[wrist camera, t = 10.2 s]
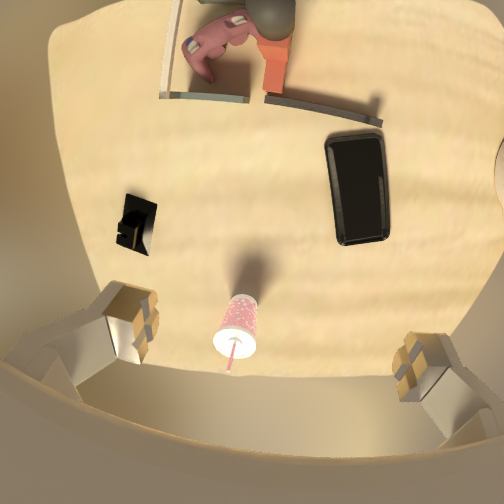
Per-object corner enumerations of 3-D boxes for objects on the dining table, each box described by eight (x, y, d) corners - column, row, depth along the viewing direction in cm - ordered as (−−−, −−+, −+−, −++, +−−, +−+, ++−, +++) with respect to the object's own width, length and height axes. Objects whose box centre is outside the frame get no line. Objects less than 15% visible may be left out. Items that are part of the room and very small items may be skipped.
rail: (376, 118, 32) (383, 120, 29) (374, 125, 33) (381, 127, 30) (266, 95, 33) (264, 94, 30) (265, 103, 33) (263, 103, 31)
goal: (264, 0, 26) (256, -27, 18) (248, 103, 33) (236, 103, 26) (201, -2, 27) (178, -25, 19) (187, 98, 34) (158, 98, 26)
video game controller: (262, 28, 30) (243, -4, 23) (278, 50, 29) (260, 17, 23) (197, 65, 33) (169, 41, 26) (209, 88, 33) (179, 64, 26)
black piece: (125, 181, 41) (109, 190, 37) (167, 195, 41) (155, 206, 37) (116, 248, 47) (103, 262, 43) (153, 263, 47) (142, 278, 43)
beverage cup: (263, 319, 49) (253, 386, 37) (228, 319, 50) (210, 383, 38) (260, 290, 46) (249, 357, 34) (222, 290, 47) (200, 354, 35)
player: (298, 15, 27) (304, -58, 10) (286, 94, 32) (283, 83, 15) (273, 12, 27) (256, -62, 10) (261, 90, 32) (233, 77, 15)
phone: (337, 247, 41) (323, 139, 34) (336, 243, 42) (322, 138, 35) (390, 239, 39) (383, 133, 32) (388, 236, 40) (381, 132, 33)
